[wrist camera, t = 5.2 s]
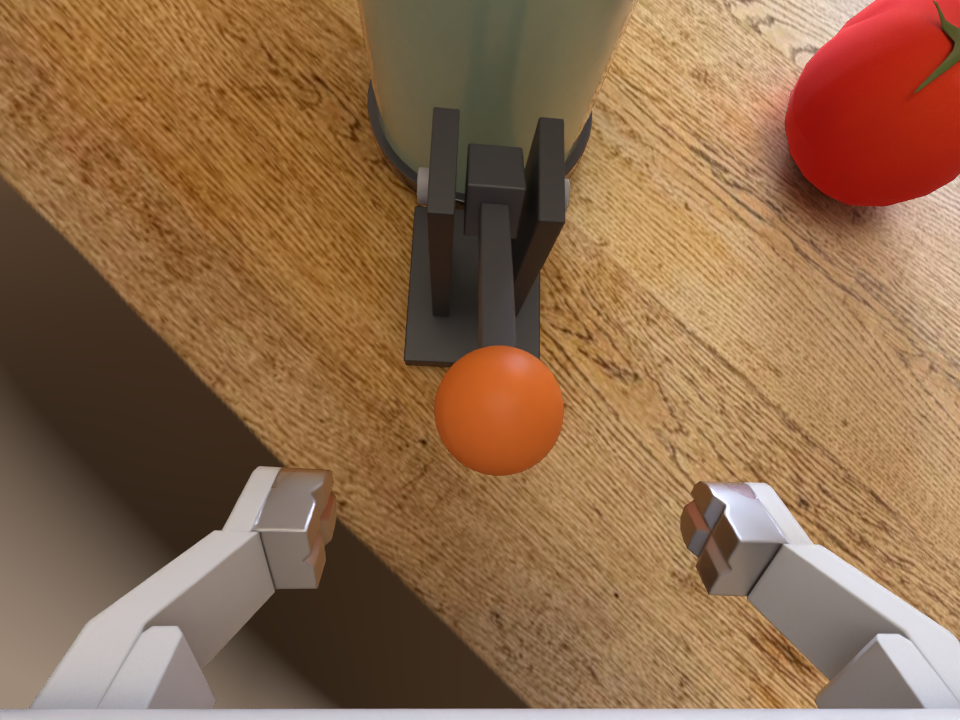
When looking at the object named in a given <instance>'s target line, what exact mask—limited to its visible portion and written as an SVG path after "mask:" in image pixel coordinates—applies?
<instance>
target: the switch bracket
mask: <svg viewBox="0 0 960 720" xmlns="http://www.w3.org/2000/svg"><path fill="white" fill-rule="evenodd" d="M459 118H460V110H459V109H450V108H439V107H434V108H433V119H432V134H431V150H430V165H429V168H426V167H419V169H418V177H417V201H418V204H420V205H427V207H420V206H415V212H414V226H413V240H412V254H411V268H410V282H409V296H408V309H407V323H406V337H405V351H404V361H405V364H406V365H422V366H442V367H451V366H452V365H453V364H454V363H455V362H456V361H458V360H459V359H460V358H462V357H463V356H465V355H466V354H468V353H470V352H472V351H474V350H477V349H478V236H468V235H464V210H461V209H455V198H456V178H457V158H458V138H459ZM524 170H525V180H526V194H525V199H524V204H523V210H522V215H521V220H520V225H519V230H518V235H517V238H516V239H511V247H512V265H513V282H514V300H515V317H516V335H517V348H518V349H521V350H524V351H526V352H528V353H530V354H532V355H533V356H535V357H536V358H538V359H539V360H540V270H541V269H542V267H543V265H544V263H545V261H546V259H547V257H548V255H549V253H550V251H551V249H552V247H553V245H554V243H555V241H556V239H557V237H558V235H559V233H560V231H561V229H562V227H563V225H564V223H565V213H566V210H567V208H568V204H569V198H570V182H569V180H568V179H565V145H564V119H558V118H547V117H540V118H539V120H538V123H537V127H536V130H535V134H534V137H533V141H532V144H531V148H530V152H529V155H528V159H527V162H526V166H525V169H524Z"/></svg>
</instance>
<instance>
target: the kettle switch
mask: <svg viewBox="0 0 960 720" xmlns="http://www.w3.org/2000/svg"><path fill="white" fill-rule="evenodd" d="M525 194H526V180H525V170H524V159H523V149H522V148H521V147H510V146H498V145H486V144H474V143H470V144H469V145H468V155H467V169H466V183H465V202H464V235H468V236H478V349H477V350H474V351H472V352H470V353H468V354H466V355H465V356H463V357H462V358H460V359H459V360H458V361H456V362H455V363H454V364H453V365H452V366H451V368H450V369H449V370H448V371H447V372H446V374H445V375H444V377H443V379H442V381H441V383H440V385H439V387H438V390H437V394H436V399H435V406H434V415H435V422H436V427H437V430H438V433H439V436H440V438H441V440H442V442H443V444H444V445H445V447H446V448H447V450H448V451H449V452H450V453H451V454H452V456H453V457H455V458H456V459H457V460H458V461H459V462H460V463H462V464H463V465H465V466H466V467H468V468H470V469H472V470H474V471H477V472H479V473H483V474H487V475H495V476H504V475H511V474H516V473H519V472H522V471H525V470H527V469H529V468H531V467H532V466H534V465H536V464H537V463H538V462H540V461H541V460H542V459H543V458H544V457H545V456H546V455H547V454H548V453H549V452H550V450H551V449H552V448H553V446H554V444H555V443H556V441H557V439H558V437H559V434H560V431H561V428H562V424H563V416H564V404H563V399H562V393H561V390H560V387H559V385H558V383H557V381H556V379H555V377H554V376H553V374H552V373H551V371H550V370H549V369H548V368H547V366H546V365H544V364H543V363H542V362H541V361H540V360H539V359H538V358H536V357H535V356H533V355H532V354H530V353H528V352H526V351H524V350H521V349H518V348H517V335H516V317H515V300H514V282H513V265H512V247H511V239H516V238H517V235H518V230H519V225H520V220H521V215H522V210H523V204H524V199H525Z"/></svg>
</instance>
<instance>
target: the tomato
mask: <svg viewBox="0 0 960 720" xmlns="http://www.w3.org/2000/svg"><path fill="white" fill-rule="evenodd" d="M785 130H786V135H787V140H788V145H789V150H790V155H791V156H792V158H793V159H794V161H795V163H796V164H797V166H798V167H799V169H800V171H801V172H802V174H803V176H804V177H805V178H806V179H807V180H809V181H810V182H811V183H812V184H813V185H814V186H815V187H816V188H818V189H819V190H820V191H821V192H822V193H823V194H825V195H827V196H829V197H832V198H834V199H836V200H838V201H840V202H842V203H844V204H846V205H856V206H888V205H892V204H896V203H899V202H903V201H907V200H911V199H915V198H918V197H922V196H926V195H928V194H930V193H931V192H933V191H935V190H937V189H938V188H940V187H942V186H944V185H946V184H947V183H949V182H951V181H953V180H954V179H955V178H956V177H957V176H958V175H959V174H960V0H875V1H874V2H873V3H871V4H870V5H869V6H867V7H866V8H865V9H863V10H862V11H861V12H859V13H858V14H857V15H855V16H854V17H853V18H851V19H850V20H849V21H847V22H846V24H845V25H844V26H843V27H842V29H841V30H840V31H839V32H838V33H837V35H836V36H835V37H833V38H832V39H831V40H830V41H828V42H827V43H826V44H825V45H824V46H822V47H821V48H820V49H819V50H818V51H817V53H816V54H815V55H814V56H813V57H812V58H811V59H810V60H809V62H808V63H807V64H806V66H805V68H804V70H803V72H802V73H801V75H800V77H799V79H798V81H797V83H796V85H795V86H794V88H793V90H792V92H791V94H790V99H789V104H788V108H787V113H786V118H785Z"/></svg>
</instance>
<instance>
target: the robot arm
mask: <svg viewBox="0 0 960 720" xmlns="http://www.w3.org/2000/svg"><path fill="white" fill-rule="evenodd" d="M333 483H334V481H333V475H332V471H330V470H322V469H305V468H287V467H283V468H280V467H262V466H259V467H258V468H256V469H255V470H254V471H253V472H252V474H251V476H250V478H249V480H248V482H247V484H246V485H245V487H244V489H243V491H242V493H241V495H240V497H239V499H238V501H237V503H236V505H235V506H234V508H233V510H232V513H231V514H230V516H229V518H228V520H227V522H226V524H225V526H224V527H223V529H222V531H213V532H212V533H210V534H209V535H207V536H206V537H205V538H203V539H202V540H201V541H199V542H198V543H196V544H195V545H194V546H192V547H191V548H190V549H188V550H187V551H185V552H184V553H182V554H181V555H180V556H179V557H177V558H176V559H174V560H173V561H171V562H170V563H169V564H167V565H166V566H165V567H163V568H162V569H160V570H159V571H158V572H156V573H155V574H153V575H152V576H151V577H149V578H148V579H147V580H145V581H144V582H142V583H141V584H140V585H138V586H137V587H136V588H134V589H133V590H132V591H130V592H129V593H127V594H126V595H124V596H123V597H122V598H120V599H119V600H117V601H116V602H115V603H113V604H112V605H111V606H109V607H108V608H106V609H105V610H104V611H102V612H101V613H100V614H98V615H97V616H95V617H94V618H93V619H91V620H90V621H88V622H87V624H86V625H85V626H84V628H83V629H82V631H81V632H80V634H79V635H78V637H77V638H76V640H75V641H74V643H73V644H72V645H71V647H70V648H69V650H68V651H67V653H66V654H65V656H64V657H63V659H62V660H61V662H60V663H59V665H58V666H57V667H56V669H55V671H54V672H53V673H52V675H51V676H50V678H49V679H48V681H47V682H46V684H45V685H44V686H43V688H42V689H41V691H40V692H39V694H38V695H37V697H36V698H35V700H34V701H33V703H32V704H31V706H30V707H29V709H0V720H960V642H959V641H958V640H957V638H956V637H955V636H954V635H953V634H952V633H951V632H950V631H948V630H947V629H945V628H944V627H942V626H941V625H939V624H938V623H936V622H935V621H933V620H932V619H930V618H929V617H927V616H926V615H924V614H923V613H921V612H920V611H918V610H917V609H915V608H914V607H912V606H911V605H910V604H908V603H907V602H905V601H904V600H902V599H901V598H899V597H898V596H896V595H895V594H893V593H892V592H890V591H889V590H887V589H886V588H884V587H883V586H881V585H880V584H878V583H877V582H875V581H874V580H872V579H871V578H869V577H868V576H866V575H865V574H863V573H862V572H860V571H859V570H857V569H856V568H854V567H853V566H851V565H850V564H848V563H847V562H846V561H844V560H843V559H841V558H840V557H838V556H837V555H835V554H834V553H832V552H831V551H829V550H828V549H826V548H825V547H823V546H822V545H814V544H813V543H812V541H811V540H810V539H809V537H808V536H807V534H806V533H805V532H804V530H803V529H802V528H801V526H800V525H799V524H798V522H797V521H796V519H795V518H794V517H793V515H792V514H791V513H790V511H789V510H788V509H787V507H786V506H785V505H784V503H783V502H782V500H781V499H780V498H779V496H778V495H777V494H776V492H775V491H774V490H773V488H772V487H771V486H769V485H768V484H766V483H745V482H744V483H740V482H703V481H700V482H698V483H697V484H696V485H695V486H694V488H693V490H692V492H691V494H692V496H693V498H694V500H693V501H692V502H690V503H689V504H687V505H686V506H685V507H684V509H683V512H682V514H681V524H680V529H681V533H682V537H683V540H684V542H685V544H686V547H687V549H689V550H690V551H691V552H692V553H693V554H695V555H696V556H697V557H698V560H697V563H696V568H697V571H698V573H699V575H700V577H701V579H702V581H703V583H704V585H705V588H706V590H707V592H708V594H709V595H725V596H747V599H748V600H749V601H750V602H751V603H752V604H753V605H754V606H755V607H756V608H757V609H758V610H759V611H760V612H761V613H762V614H763V615H764V616H765V617H766V618H767V619H768V620H769V621H770V622H771V623H772V624H773V625H774V626H775V627H776V628H777V629H778V630H779V631H780V632H781V633H782V634H783V635H784V636H785V637H786V638H787V639H788V640H789V641H790V642H791V643H792V644H793V645H794V646H795V647H796V648H797V649H798V650H799V651H800V652H801V653H802V654H803V655H804V656H805V657H806V658H807V659H808V660H809V661H810V662H811V663H812V664H813V665H814V666H815V667H816V668H817V669H818V670H819V671H820V672H821V673H822V674H823V675H825V676H826V677H827V678H828V679H829V680H830V682H829V683H828V684H827V685H826V686H825V687H824V688H823V689H822V690H821V691H820V692H819V693H818V694H817V696H816V698H815V703H816V705H817V706H818V708H819V709H213V708H214V706H215V703H216V699H215V697H214V695H213V693H212V691H211V689H210V687H209V685H208V683H207V681H206V679H205V677H204V675H203V673H202V670H203V669H204V668H205V667H206V665H207V664H208V663H209V662H210V661H211V660H212V659H213V658H214V657H215V656H216V655H217V654H218V652H219V651H220V650H221V649H222V648H223V647H224V646H225V645H226V644H227V643H228V642H229V641H230V640H231V638H232V637H233V636H234V635H235V634H236V633H237V632H238V631H239V630H240V629H241V628H242V627H243V626H244V624H245V623H246V622H247V621H248V620H249V619H250V618H251V617H252V616H253V615H254V614H255V613H256V612H257V610H258V609H259V608H260V607H261V606H262V605H263V604H264V603H265V602H266V601H267V600H268V599H269V597H270V596H271V595H272V594H273V593H274V592H275V589H314V588H315V589H317V588H318V585H319V582H320V578H321V575H322V571H323V568H324V564H325V561H326V556H325V549H324V546H325V545H327V543H329V542H330V541H331V539H332V535H333V532H334V527H335V521H336V496H335V495H333V494H332V493H331V489H332V486H333Z"/></svg>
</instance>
